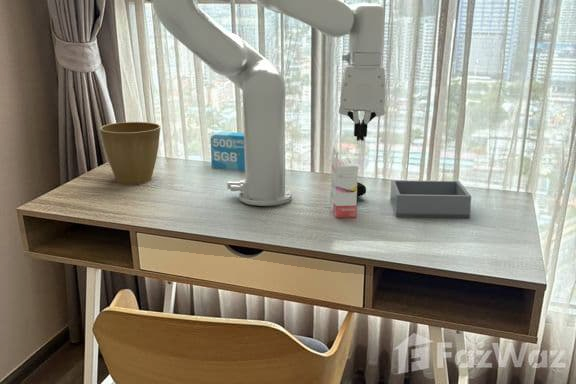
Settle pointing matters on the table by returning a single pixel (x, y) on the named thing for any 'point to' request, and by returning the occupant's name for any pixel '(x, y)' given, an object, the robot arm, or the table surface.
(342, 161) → the ink cartridge box
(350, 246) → the table surface
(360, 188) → the tape measure
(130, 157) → the plant pot
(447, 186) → the tote
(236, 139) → the data package
